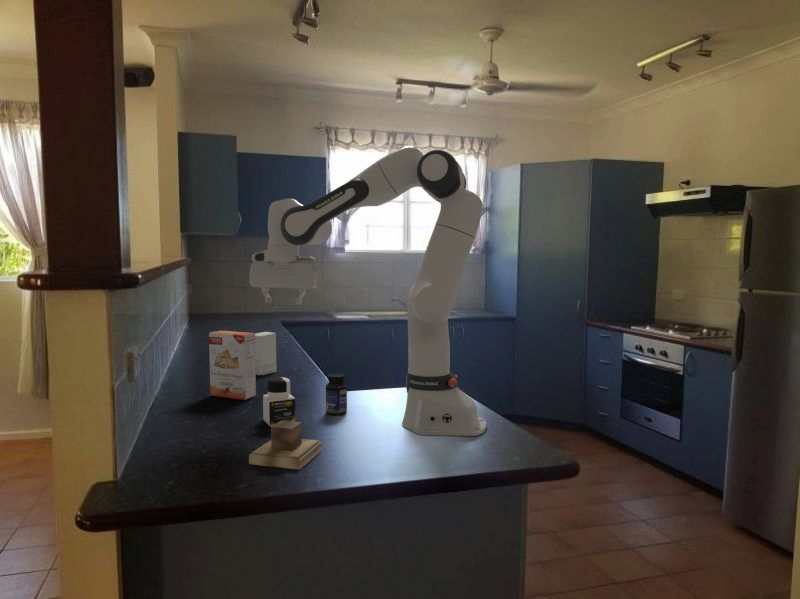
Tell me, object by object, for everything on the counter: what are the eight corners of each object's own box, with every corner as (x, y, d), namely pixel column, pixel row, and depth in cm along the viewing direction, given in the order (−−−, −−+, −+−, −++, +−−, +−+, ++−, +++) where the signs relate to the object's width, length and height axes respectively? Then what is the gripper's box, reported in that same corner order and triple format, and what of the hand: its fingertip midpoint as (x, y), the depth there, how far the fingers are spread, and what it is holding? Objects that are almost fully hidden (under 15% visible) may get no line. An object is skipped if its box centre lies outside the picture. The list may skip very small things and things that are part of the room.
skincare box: (266, 370, 219) (265, 331, 218) (277, 372, 215) (277, 332, 214) (249, 373, 212) (248, 333, 211) (260, 376, 208) (260, 335, 207)
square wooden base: (321, 450, 128) (321, 439, 128) (299, 469, 117) (299, 458, 116) (275, 445, 131) (274, 435, 131) (249, 464, 120) (248, 452, 119)
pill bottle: (343, 416, 156) (343, 378, 155) (322, 415, 157) (322, 377, 156) (349, 410, 162) (349, 373, 161) (329, 409, 163) (329, 372, 162)
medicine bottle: (269, 427, 146) (268, 382, 145) (263, 420, 152) (262, 377, 151) (295, 423, 149) (295, 379, 148) (288, 416, 155) (287, 374, 154)
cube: (301, 443, 125) (301, 422, 125) (292, 451, 121) (291, 428, 120) (281, 441, 127) (281, 420, 126) (271, 448, 122) (271, 426, 122)
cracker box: (209, 396, 177) (207, 332, 176) (221, 392, 183) (220, 329, 181) (244, 400, 172) (243, 334, 171) (256, 396, 178) (255, 332, 176)
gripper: (321, 256, 159) (321, 304, 160) (257, 255, 164) (257, 301, 165) (312, 256, 153) (312, 305, 154) (246, 255, 158) (246, 303, 159)
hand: (283, 303), depth 160 cm, fingers open, 8 cm apart
